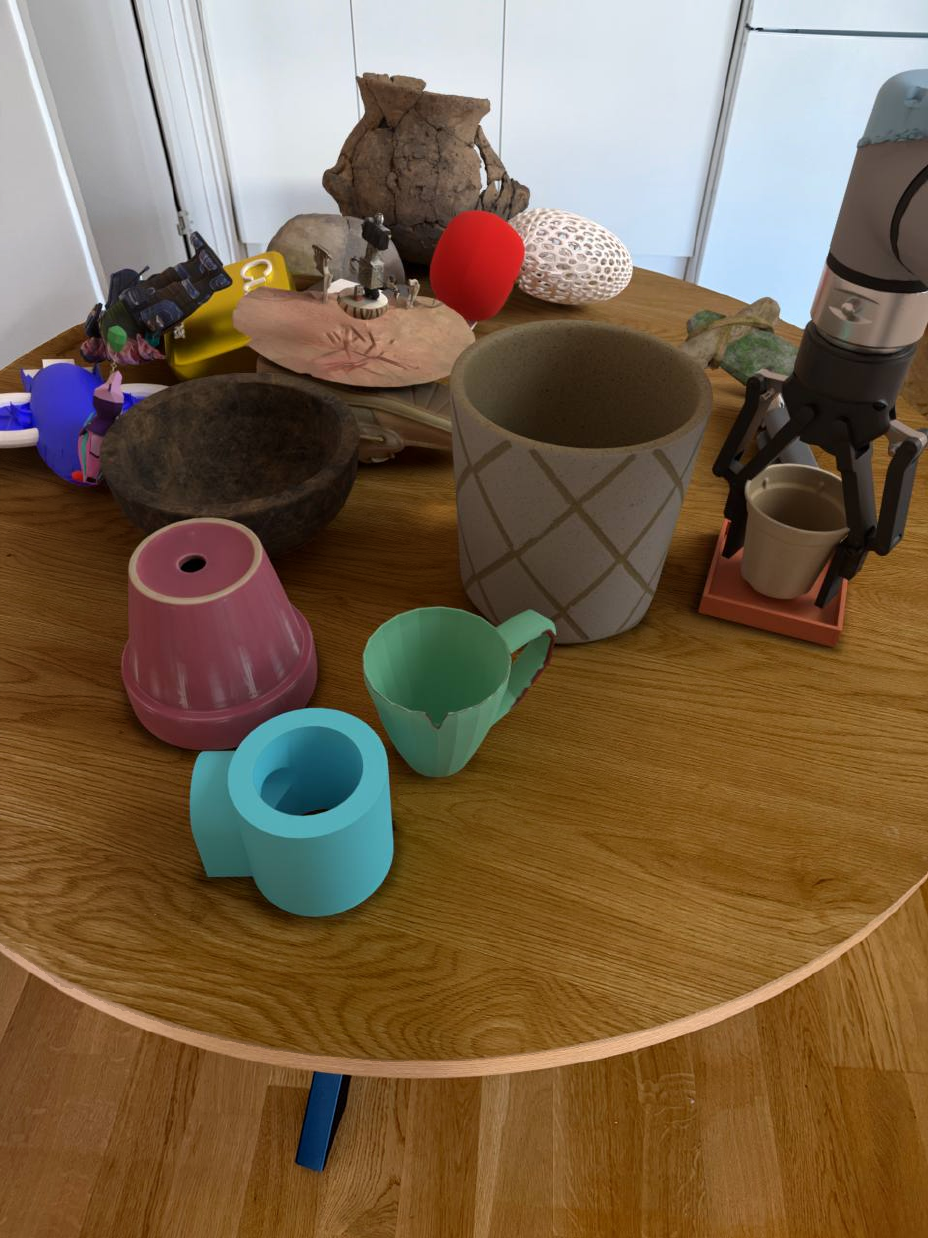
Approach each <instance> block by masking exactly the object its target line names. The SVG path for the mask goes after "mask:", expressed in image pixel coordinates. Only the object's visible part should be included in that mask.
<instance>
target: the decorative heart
mask: <svg viewBox="0 0 928 1238" xmlns="http://www.w3.org/2000/svg"><path fill="white" fill-rule="evenodd" d="M508 224H509V225H510V226H511V227H512V228H513V229H515V230H516V231H517V233H518V234H519V235H520V237H521V238H522V240H523V243H524V246H525V256H524V261H525V262H524V261H523V264H524V265H523V264H522V266H523V268H521V269H522V270H521V269H520V271H521V272H519V273H520V274H519V275H518V276H519V277H518V279H517V280H518V281H520V285H519V287H518V286H516V288H518V289H519V290H521V291H522V292H523V293H525V294H528V295H529V296H532V297H534V298H536V299H539V300H542V301H545V302H549V303H554V304H560V305H571V306H572V305H573V306H576V305H577V306H578V305H579V306H583V305H593V304H598V303H601V302H605V301H608V300H610V299H612V298H614V297H617V296H618V295H619V294H621V293H622V291H623V290H625V289H626V287H627V286H628V285H629V284H630V281H631V279H632V276H633V270H634V269H633V260H632V256H631V254H630V252H629V250H628V249H627V247H626V246H625V244H624V243H623V242H622V241H621V240H620V239H619V238H618V237H617V235H615V234H614V233H613V232H611V231H610V230H608V229H607V228H606V227H604V226H603V225H601V224H599V223H598V222H595V221H594V220H591V219H589V218H587V217H585V216H582V215H579V214H576V213H573V212H569V211H566V210H562V209H559V208H546V207H537V208H531V209H528V210H525V211H523V212H522V213H519V214H518V215H516V216H515V217H514V218H512V219H511V220H509V222H508ZM540 232H543V233H540ZM562 235H563V236H565V238H563V237H562ZM580 240H581V241H580ZM555 241H558V243H556V242H555ZM571 247H573V248H571ZM578 249H579V250H578ZM595 252H597V253H598V254H597V253H595ZM527 253H528V254H527ZM525 258H526V259H525ZM533 259H534V260H533ZM603 263H604V264H603ZM610 263H611V265H610ZM563 268H564V269H563ZM523 269H524V270H523ZM615 270H616V271H615ZM568 274H571V275H570V276H567V275H568ZM539 275H540V276H539ZM601 276H602V277H601ZM609 278H611V279H610V280H609V281H608V279H609ZM539 281H540V282H539ZM590 282H596V283H595V284H589V283H590Z"/></svg>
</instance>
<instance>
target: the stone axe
mask: <svg viewBox="0 0 928 1238" xmlns="http://www.w3.org/2000/svg"><path fill="white" fill-rule="evenodd" d="M780 315H781V307H780V305H779V303H778V301H777V300H775V299H773V298H772V297H770V296H763V297H761V298H759V299H757V300H755V301H754V302H752V303H750V304H749V305H747V306H746V307H743V309H741V310H739V311H737V312H736V313H735V312H732V311H727V312H726V314H722V313H720V312H715V311H713V310H709V309H705V310H702V311H698V312H696V313H695V314H693V316H691V317H690V318H689V319H688V320H687V321H686V322H685V324H686V333H687V334H688V335H687V337H686V338H685V340H684V341H685V342H683V343H681V344H679V345H677V346H676V347H678V348H679V349H681V350H682V351H684V352H685V353H687V354H688V355H689V356H690V357H692V358H693V359H694V360H695V361H696V362H697V363H698V364H699V365H700V366H701V367H702V368H703V370H704V371H705V370H706V369H708V368H709V369H710V370H711V371H716V370H719V369H720V368H721V370H723V371H724V372H726V373H727V374H728V375H729V376H731V377H732V378H733V379H735V380H736V381H738V382H739V383H740V384H741V385H742V386H744V387H746V384H747V380H748V378H749V377H751V376H752V375H754V374H755V373H757V372H758V371H760V370H761V369H763V368H764V367H765V366H768V365H769V366H773V367H774V368H775V369H776V371H777V374H781V375H785V376H790V374H791V373H792V372H793V370H794V363H795V360H796V357H797V353H798V350H799V347H798V346H797V345H795V344H793V343H792V342H789V341H788V340H786V339H784V338H783V337H781V336H779V335H777V334H775V328H776V327H777V326H778V324H779V322H780Z"/></svg>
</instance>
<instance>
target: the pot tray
mask: <svg viewBox="0 0 928 1238" xmlns="http://www.w3.org/2000/svg"><path fill="white" fill-rule="evenodd" d="M730 523H731V521H730V520H728V519H726V518H724V517H723V521H722V524H721V528H720V532H719V536H718V539H717V542H716V546H715V550H714V554H713V557H712V561H711V564H710V567H709V570H708V575H707V578H706V582H705V585H704V589H703V591H702V595H701V600H700V604H699V608H698V611H697V613H699V614H703V615H706V616H710V617H715V618H719V619H723V620H726V621H729V622H734V623H737V624H741V625H746V626H749V627H753V628H757V629H761V630H764V631H769V632H772V633H776V634H780V635H784V636H787V637H792V638H795V639H799V640H802V641H803V640H804V641H807V642H811V643H814V644H819V645H823V646H827V647H831V648H836V645H837V643H838V641H839V639H840V636H841V634H842V632H843V626H844V617H845V609H846V600H847V590H848V589H847V588H848V582H849V581H848V580H846V579H843V581H842V584H841V586H840V589H839V591H838V594H837V595H836V596H835V597H834V598H833V599H832V600H831V601H830V602H829V603H828V604H827V605H826V606H825V607H824V608H823V609H820V608H819V607H817V606H815V605H814V603H815V601H816V598H817V596H818V593H819V591H820V588H821V586H822V583H823V581H824V578H825V576H826V573H827V570H828V568H829V565H830V563H831V560H832V558H833V555H834V553H835V551H834V553H833V554H832V556H831V558H830V559H829V561H828V562H827V564H826V566H825V567H824V569H823V571H822V572H821V574H820V576H819V577H818V579H817V580H816V582H815V584H814V585H813V587H812V589H811V590H810V591H809V592H808V593H807V594H804V595H800V596H797V597H795V598H793V599H778V598H773V597H769V596H766V595H764V594H761V593H759V592H757V591H756V590H754V588H753V587H752V586H751V584H750V583H749V582H748V581H747V580H744V579H743V577H742V574H741V562H742V555H743V549H744V547H743V548H741V549H740V550H739V551H738V552H737V553H736V554H734V555H733V556H732V557H731V558H730V559H727V558H725V557H723V556H721V555H722V552H723V548H724V544H725V541H726V537H727V534H728V530H729V527H730Z"/></svg>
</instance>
